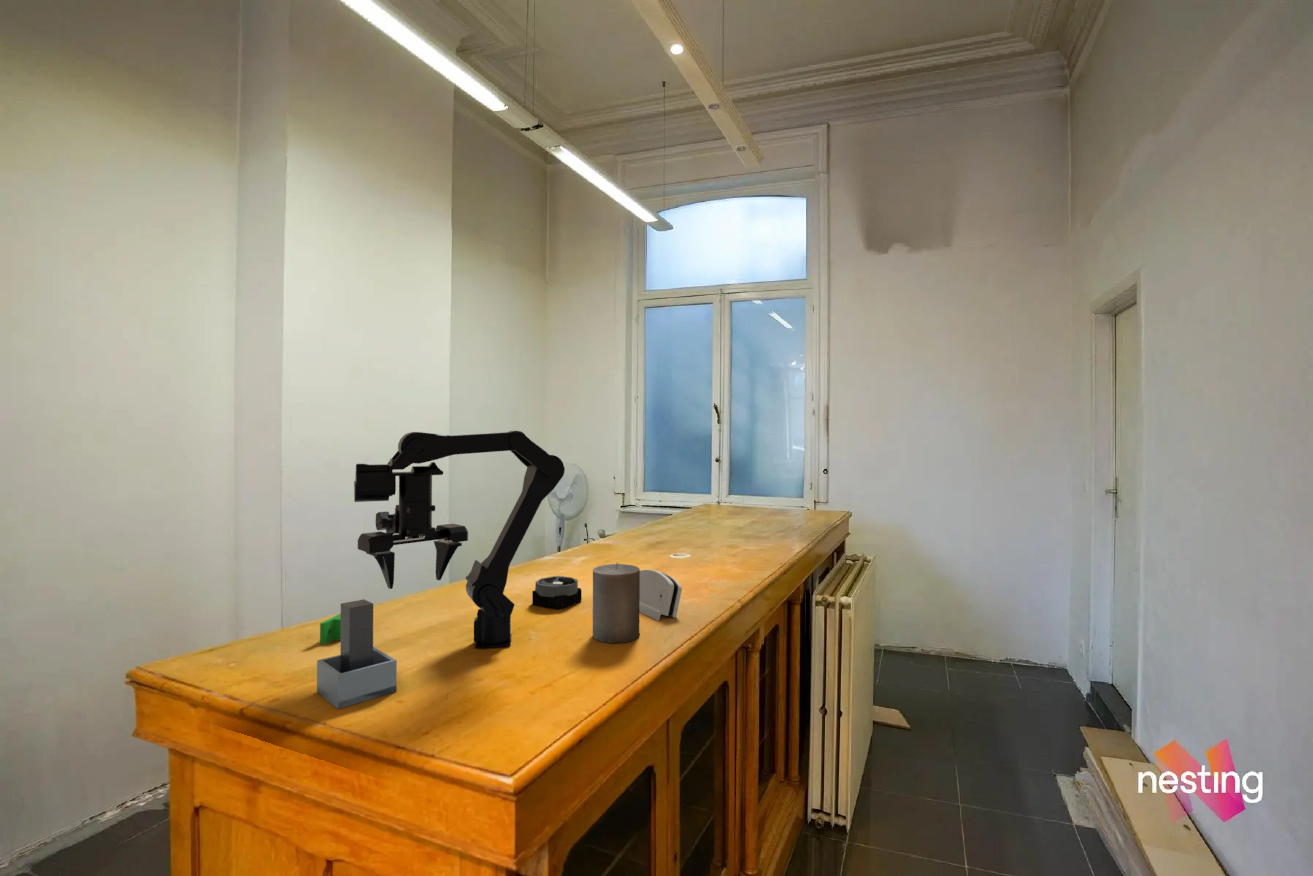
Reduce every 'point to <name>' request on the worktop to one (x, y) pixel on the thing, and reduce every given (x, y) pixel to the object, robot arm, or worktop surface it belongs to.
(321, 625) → the pipe clamp
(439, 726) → the worktop surface
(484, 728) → the worktop surface
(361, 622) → the dark square pedestal
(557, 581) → the cpu cooler
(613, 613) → the pillar candle
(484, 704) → the worktop surface
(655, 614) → the napkin holder
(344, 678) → the box
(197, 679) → the worktop surface
